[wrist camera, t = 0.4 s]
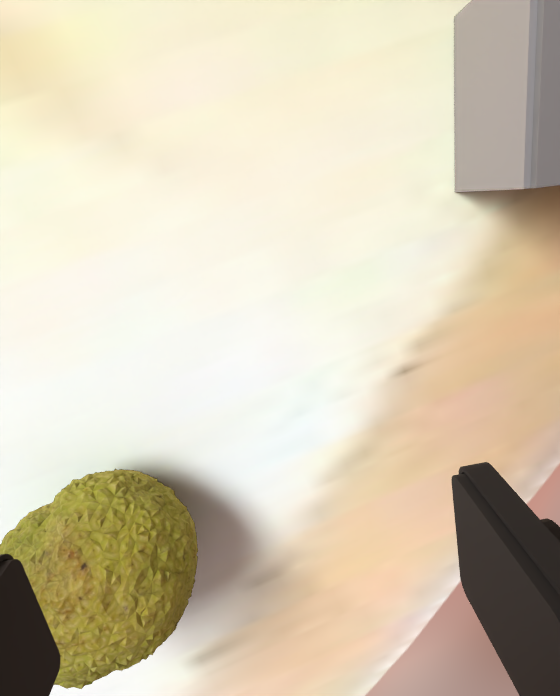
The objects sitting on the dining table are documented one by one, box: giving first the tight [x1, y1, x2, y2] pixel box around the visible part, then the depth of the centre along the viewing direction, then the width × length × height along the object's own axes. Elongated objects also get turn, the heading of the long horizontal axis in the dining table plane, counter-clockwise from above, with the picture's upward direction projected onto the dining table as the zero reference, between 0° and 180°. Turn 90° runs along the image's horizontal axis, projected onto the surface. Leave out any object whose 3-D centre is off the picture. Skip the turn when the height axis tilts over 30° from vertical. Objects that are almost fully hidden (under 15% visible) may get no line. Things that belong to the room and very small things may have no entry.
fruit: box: [0, 469, 198, 689], centre depth 38 cm, size 16×14×15 cm
